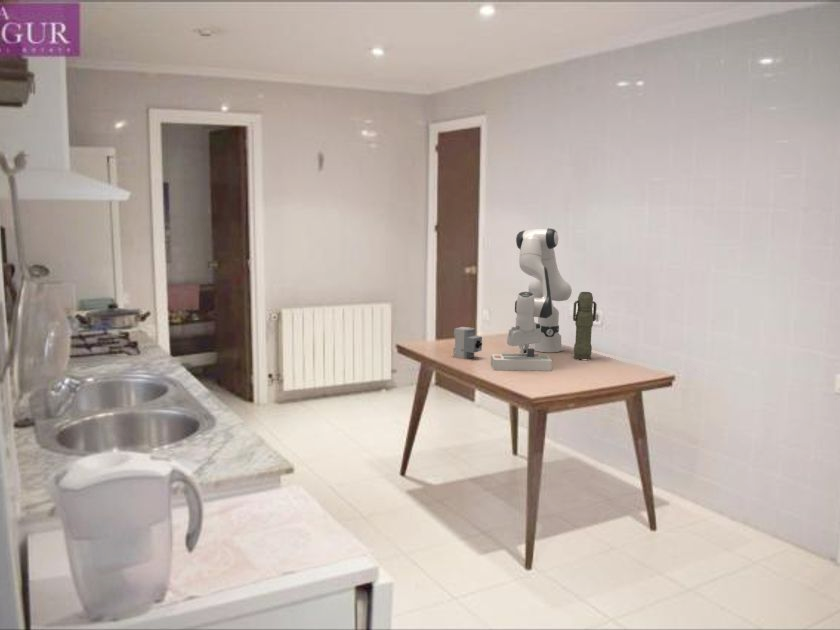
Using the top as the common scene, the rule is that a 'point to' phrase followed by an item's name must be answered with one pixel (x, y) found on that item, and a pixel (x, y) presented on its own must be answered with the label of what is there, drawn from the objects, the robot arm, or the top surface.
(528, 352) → the breaker toggle
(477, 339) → the circuit breaker
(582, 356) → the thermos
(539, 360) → the white slider track board
